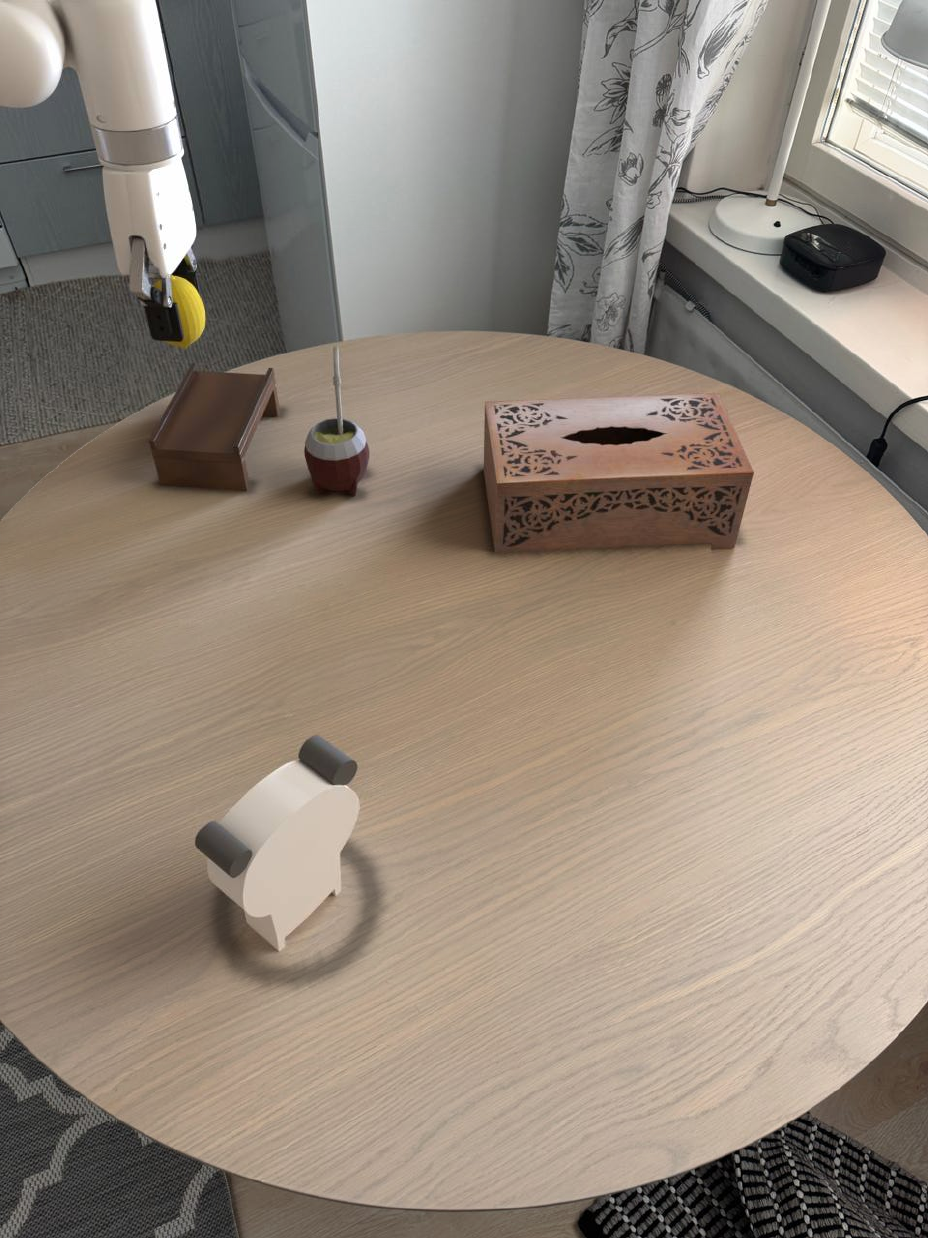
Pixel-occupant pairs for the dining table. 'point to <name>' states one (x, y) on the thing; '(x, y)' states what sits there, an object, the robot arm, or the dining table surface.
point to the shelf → (212, 428)
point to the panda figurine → (285, 840)
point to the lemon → (187, 309)
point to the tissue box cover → (613, 472)
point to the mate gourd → (336, 449)
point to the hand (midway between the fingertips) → (178, 322)
